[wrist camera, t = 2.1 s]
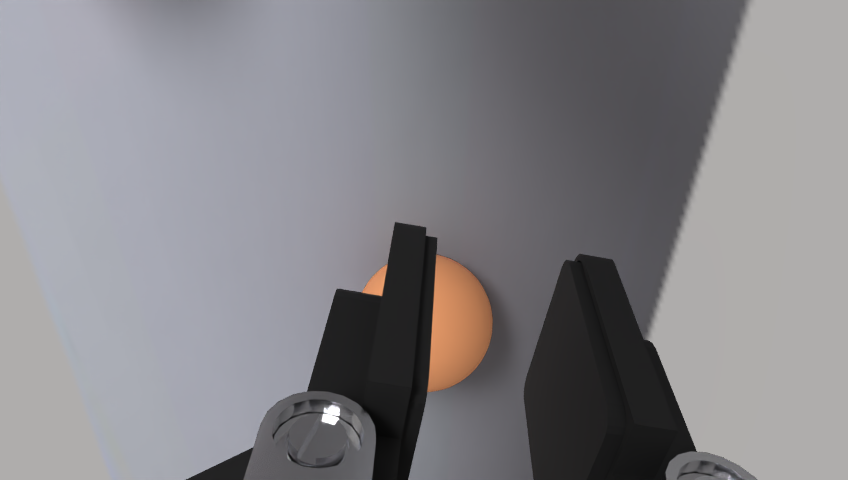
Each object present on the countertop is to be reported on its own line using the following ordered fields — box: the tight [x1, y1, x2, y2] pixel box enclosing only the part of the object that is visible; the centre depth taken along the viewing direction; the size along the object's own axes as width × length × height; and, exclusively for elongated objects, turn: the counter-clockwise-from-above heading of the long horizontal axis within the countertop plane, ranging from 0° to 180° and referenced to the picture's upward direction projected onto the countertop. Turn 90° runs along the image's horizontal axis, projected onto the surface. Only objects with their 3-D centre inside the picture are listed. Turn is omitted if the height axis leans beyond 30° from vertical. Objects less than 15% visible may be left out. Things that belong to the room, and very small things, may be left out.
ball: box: [362, 255, 493, 392], centre depth 27 cm, size 6×6×6 cm
